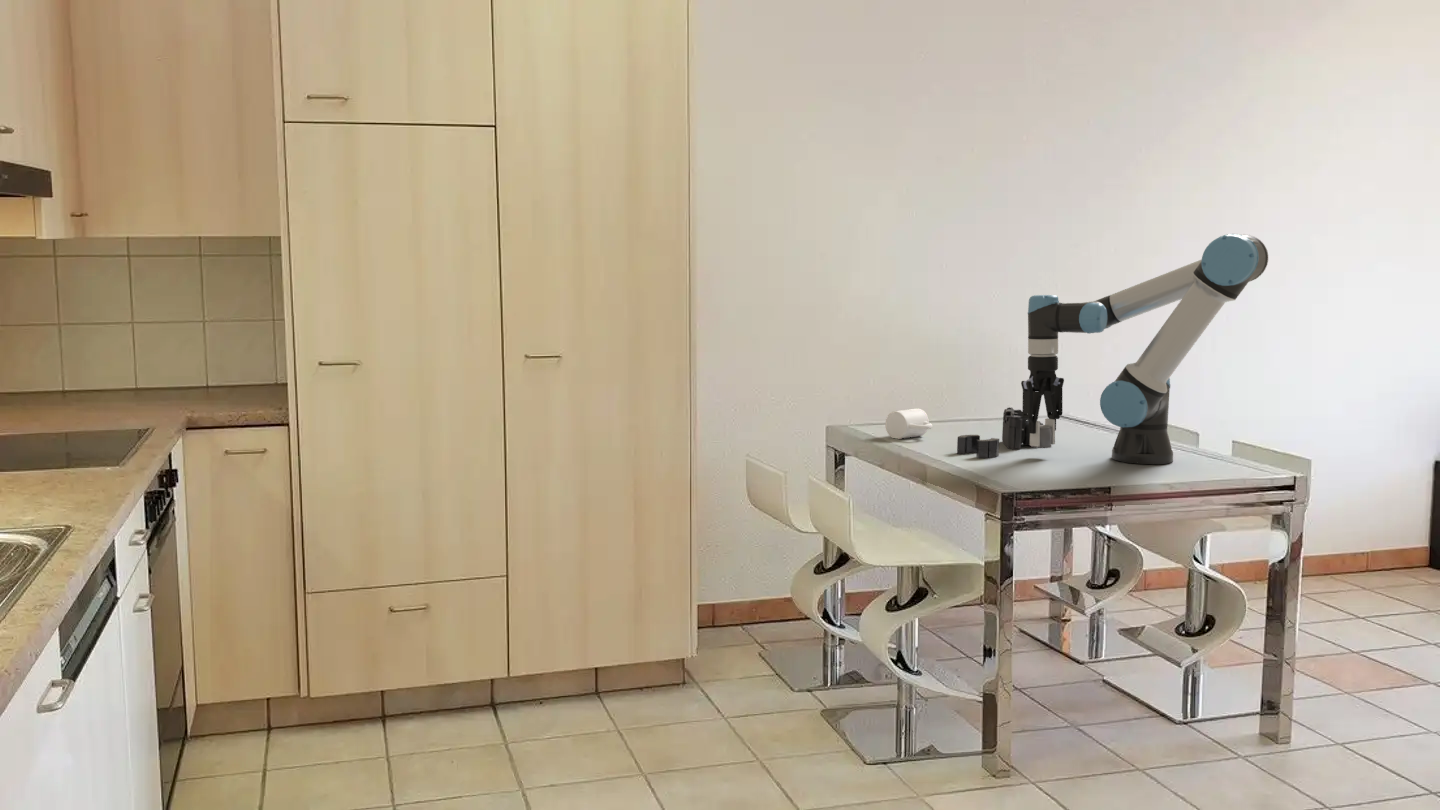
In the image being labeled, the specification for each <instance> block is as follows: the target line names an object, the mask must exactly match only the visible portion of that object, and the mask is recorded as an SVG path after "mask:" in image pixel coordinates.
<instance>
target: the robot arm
mask: <svg viewBox="0 0 1440 810" xmlns="http://www.w3.org/2000/svg"><path fill="white" fill-rule="evenodd" d="M1268 263H1269V253H1268V249H1267V247H1266V245H1265V244H1264V242H1263V241H1261V239H1259V238H1257V237H1256V236H1253V235H1250V234H1238V233H1228V234H1227V233H1226V234H1224V235H1223V234H1222V235H1220V236H1218V237H1217V238H1215V239H1214V240H1212V241H1211V242H1210V243H1209V244H1208V245H1207V246H1206V248H1205V249H1204V251H1203V253H1202V256H1201V259H1199V260H1197V261H1194V262H1191V263H1189V264H1187V265H1184V266H1181V267H1178V268H1176V269H1174V270H1172V271H1171V270H1170V271H1168V272H1166V273H1163V274H1160V275H1157V276H1155V277H1153V278H1150V279H1148V280H1145V281H1143V282H1140V283H1138V284H1135V285H1133V286H1130V287H1128V288H1126V289H1125V288H1124V289H1122V290H1120V291H1118V292H1115V293H1112V294H1110V295H1107V296H1104V297H1102V298H1099V299H1096V300H1093V301H1088V302H1087V301H1086V302H1067V303H1065V302H1060V300H1059V297H1058V296H1057V295H1056V294H1037V295H1036V294H1035V295H1031V296H1030V297H1029V299H1028V306H1027V307H1028V308H1027V332H1028V333H1027V335H1028V336H1027V340H1028V342H1027V353H1028V354H1029V356H1027V369H1028V370H1029V373H1030V375H1029V377H1028V378H1027V379H1026V380H1022V381H1021V383H1020V384H1021V389H1022V409H1021V411H1022V417H1023V419H1025V420H1026V421H1029V433H1030V445H1029V446H1037V447H1039V446H1040V422H1041V421H1039V420H1038V419H1039V414H1040V413H1039V412H1040V407H1041V401H1042V397H1043V398H1044V405H1045V408H1046V409H1045V410H1046V415H1047V418H1044V425H1049V426H1051V428H1052V437H1051V445H1056V431H1057V420H1060V418H1061V416H1063V387H1064V386H1063V385H1064V382H1065V379H1064V377H1057V373H1056V372H1057V370H1058V368H1059V357H1058V356H1057V355H1058V354H1059V333H1075V334H1077V333H1078V334H1081V333H1084V334H1099V333H1103V332H1104V331H1105V330H1106V329H1109V328H1111V327H1112V326H1115V325H1117V324H1119V323H1122V322H1124V321H1126V320H1130V319H1132V318H1136V317H1137V316H1140V315H1143V314H1145V313H1149V312H1151V311H1153V310H1157V309H1158V308H1162V307H1164V306H1167V305H1170V304H1172V303H1173V304H1174V303H1175V302H1177V301H1179V303H1178V304H1177V305H1176V307H1175V308H1174V309H1173V311H1172V313H1170V315H1169V316H1168V318H1167V319H1166V320H1165V322H1164V323H1163V324H1162V326H1161V327H1160V328H1159V330H1158V331H1157V333H1156V334H1155V336H1154V337H1153V339H1151V341H1150V342H1149V344H1148V346H1147V347H1146V348H1145V350H1143V352H1142V354H1141V355H1140V356H1139V358H1138V359H1137V361H1136V362H1133V363H1127V364H1126V365H1125V367H1124V368H1123V369H1122V371H1121V372H1120V374H1119V375H1118V376H1117V378H1116V379H1115V380H1114V381H1112V382H1111V383H1109V384H1108V385H1107V386H1106V387H1105V388H1104V389H1103V390H1102V392H1101V395H1100V399H1099V405H1100V410H1101V413H1102V415H1103V417H1104V418H1105V419H1106V420H1107V421H1108V422H1109V423H1111V424H1112V425H1114V426H1116V427H1118V428H1119V431H1118V433H1117V436H1116V439H1115V442H1114V444H1113V447H1112V448H1111V449H1112V450H1111V459H1113V460H1115V461H1119V462H1123V463H1128V464H1136V465H1137V464H1138V465H1165V464H1171V463H1173V462H1174V451H1173V450H1172V449H1173V448H1172V444H1171V440H1170V436H1169V434H1168V433H1169V432H1168V424H1169V423H1168V422H1169V409H1170V408H1169V405H1170V389H1171V379H1170V377H1171V376H1172V374H1174V372H1175V371H1176V369H1177V368H1178V367H1179V366H1180V364H1181V363H1182V361H1183V360H1184V359H1185V357H1186V356H1187V354H1189V351H1191V350H1192V348H1193V347H1194V345H1195V343H1196V342H1197V341H1198V340H1199V338H1200V337H1201V336H1202V334H1204V332H1205V331H1206V329H1207V328H1208V326H1209V325H1210V323H1211V322H1212V321H1213V319H1214V318H1215V317H1216V315H1217V314H1218V313H1219V311H1220V310H1221V309H1222V308H1223V306H1224V305H1225V304H1226V303H1227V302H1233V301H1236V299H1237V298H1238V297H1239V296H1240V294H1241V293H1242V292H1243V290H1244V289H1245V288H1246V286H1247V285H1248V283H1250V282H1252V281H1255V280H1257V279H1258V278H1259V277H1261V275H1263V273H1264V272H1265V271H1266V268H1267V266H1268Z"/></svg>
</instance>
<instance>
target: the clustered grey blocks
mask: <svg viewBox="0 0 1440 810" xmlns="http://www.w3.org/2000/svg"><path fill="white" fill-rule="evenodd" d="M956 440H957V441H956V443H957V445H956V446H957V447H956V454H957V455H966V454H969V453H970V454H971V453H976V458H977V459H992V458H997V457H999V455H1000V438H995V437H991V438H988V439H981V435H979V434H963V435H959V436H957V439H956Z"/></svg>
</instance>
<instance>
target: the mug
mask: <svg viewBox="0 0 1440 810" xmlns="http://www.w3.org/2000/svg"><path fill="white" fill-rule="evenodd" d="M884 424H885V430H886V433H887V434H888V436H889V437H890V438H892V439H893V438H898V439H897V440H903V439H902V438H904V439H909V438H910V437H911V438H918V437H921V436H923V435H925V434H926V433H927V431H928V430H931V429H932V428H933V424H932V423H931V422H930V420H929V416H928V414H927V413H926V411H925V410H923V409H921V408H911V409H901V410H896V411H891V412H890V413H889V414H888V415H887V416H886V418H885V422H884Z"/></svg>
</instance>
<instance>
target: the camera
mask: <svg viewBox="0 0 1440 810" xmlns="http://www.w3.org/2000/svg"><path fill="white" fill-rule="evenodd" d="M1002 416H1003V417H1002V430H1001V431H1002V432H1001V434H1002V435H1001V441H1002V443H1003V444H1004V446H1005V447H1006V448H1007V449H1008V450H1016V451H1018V450H1019V451H1020V450H1021V448H1022V444H1023V445H1027V446H1030V433H1029V421H1028V420H1025V419H1023V417H1022V409H1014V408H1013V407H1011V406H1010V407H1006V408H1005V409H1004V411H1003V415H1002ZM1040 425H1044V424H1043V423H1042V422H1041V421H1040Z"/></svg>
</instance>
